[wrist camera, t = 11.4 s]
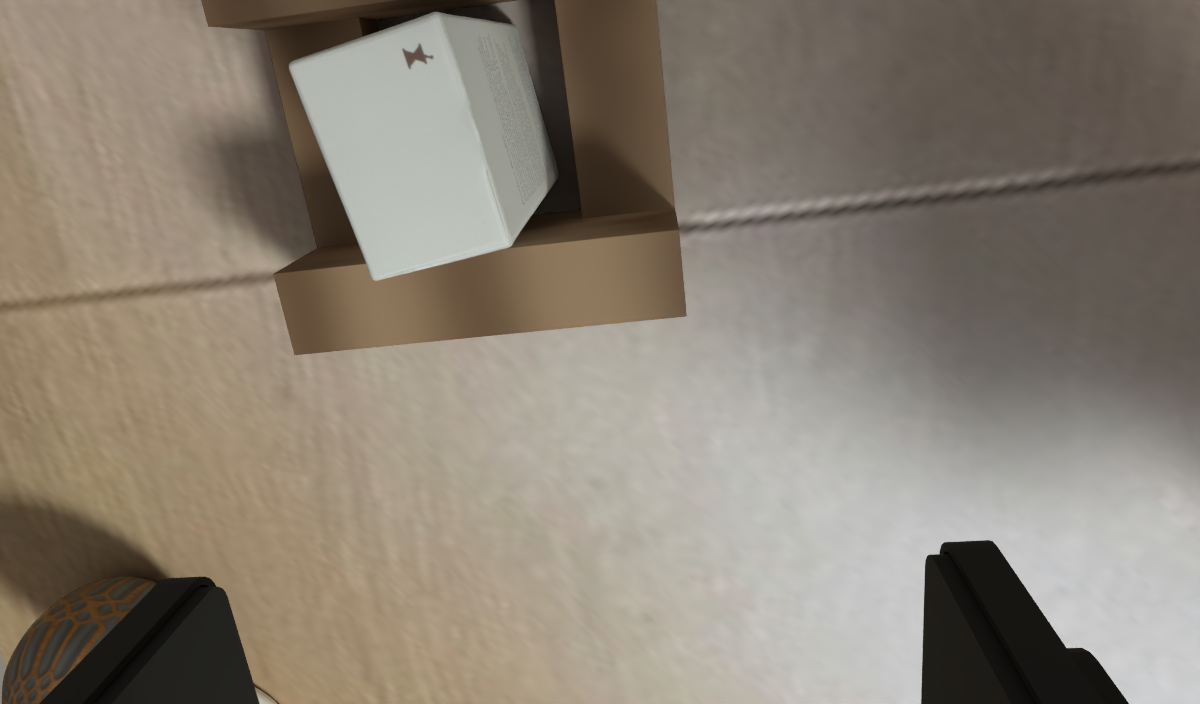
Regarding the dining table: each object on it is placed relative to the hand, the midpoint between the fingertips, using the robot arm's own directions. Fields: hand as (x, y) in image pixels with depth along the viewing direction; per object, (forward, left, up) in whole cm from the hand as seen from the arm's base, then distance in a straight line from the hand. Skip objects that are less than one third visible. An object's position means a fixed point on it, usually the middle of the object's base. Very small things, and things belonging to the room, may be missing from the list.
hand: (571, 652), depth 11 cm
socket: (+5, -6, -24) cm, 25 cm away
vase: (+26, +16, -24) cm, 39 cm away
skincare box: (+5, -6, -24) cm, 25 cm away
